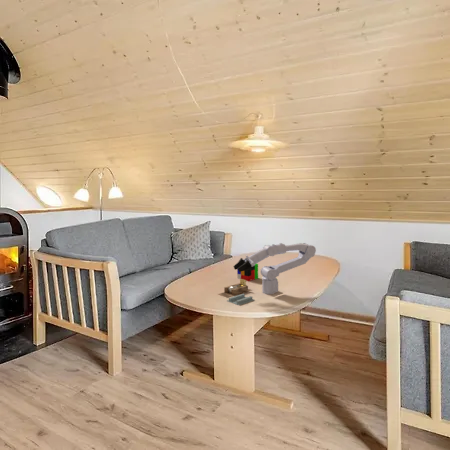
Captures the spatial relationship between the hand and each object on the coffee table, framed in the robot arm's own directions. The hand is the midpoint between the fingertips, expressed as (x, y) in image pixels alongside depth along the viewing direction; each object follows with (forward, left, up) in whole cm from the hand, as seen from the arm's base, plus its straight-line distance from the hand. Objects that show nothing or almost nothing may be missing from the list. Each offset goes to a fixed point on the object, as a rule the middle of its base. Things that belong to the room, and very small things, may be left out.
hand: (236, 269), depth 210 cm
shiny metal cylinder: (-4, -6, -16) cm, 18 cm away
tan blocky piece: (-10, -6, -16) cm, 20 cm away
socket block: (-4, -6, -17) cm, 18 cm away
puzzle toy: (-33, -24, -17) cm, 44 cm away
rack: (+4, +7, -17) cm, 18 cm away
